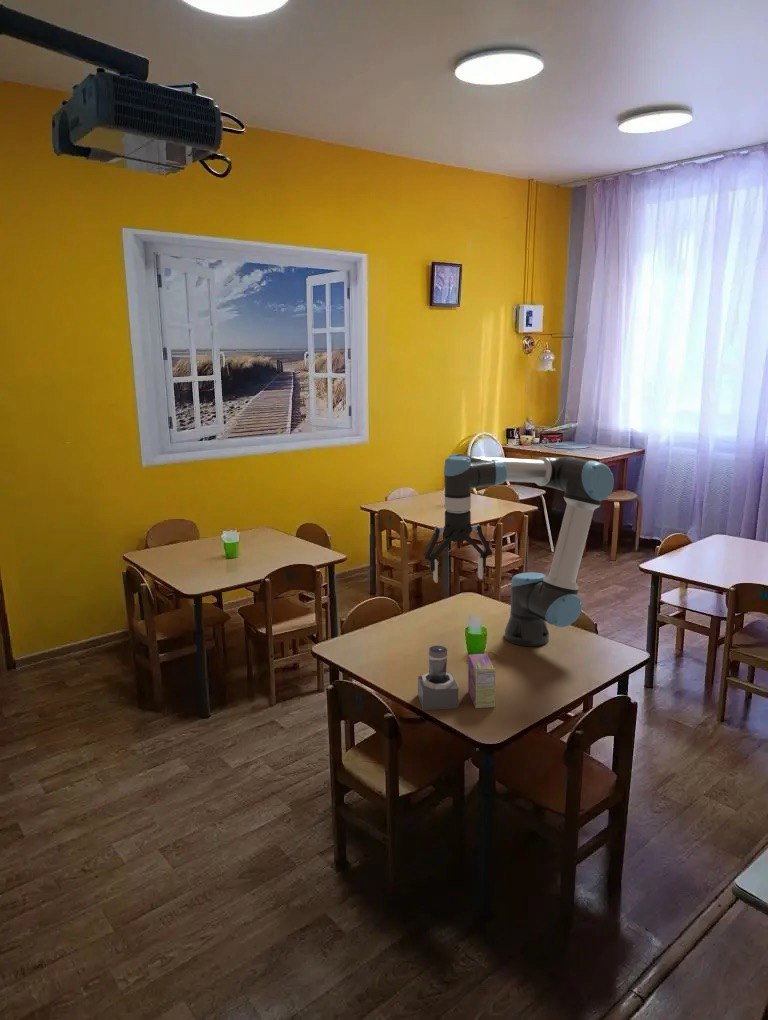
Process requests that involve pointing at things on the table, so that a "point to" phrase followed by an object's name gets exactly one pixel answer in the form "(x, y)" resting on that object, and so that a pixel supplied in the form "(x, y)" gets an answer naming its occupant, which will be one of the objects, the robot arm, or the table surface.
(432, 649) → the clear grey cylinder
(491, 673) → the box
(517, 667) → the table surface
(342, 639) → the table surface
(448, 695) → the grey holed block
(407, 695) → the table surface
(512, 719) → the table surface
